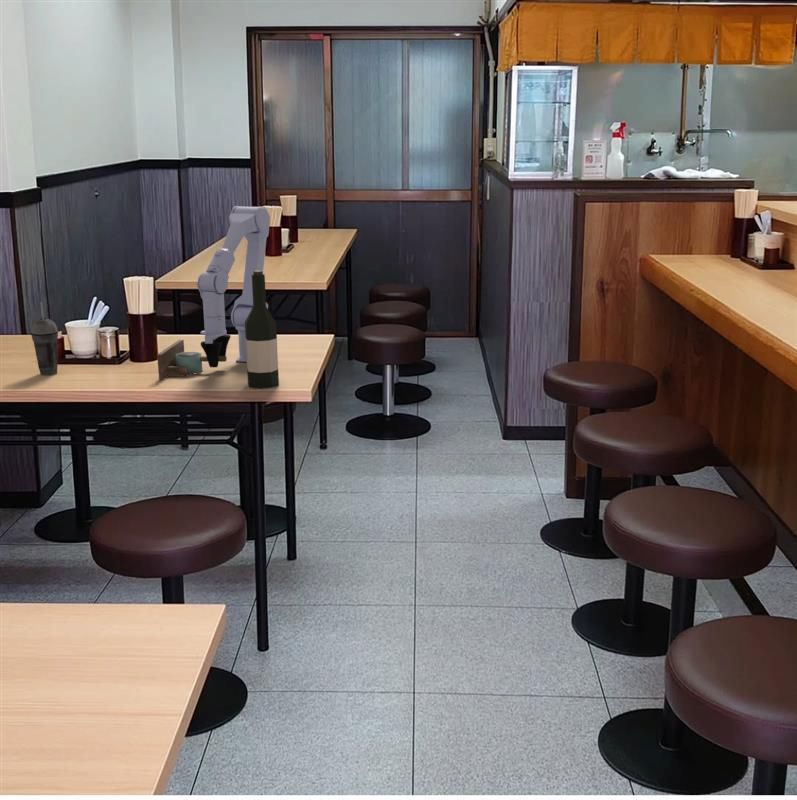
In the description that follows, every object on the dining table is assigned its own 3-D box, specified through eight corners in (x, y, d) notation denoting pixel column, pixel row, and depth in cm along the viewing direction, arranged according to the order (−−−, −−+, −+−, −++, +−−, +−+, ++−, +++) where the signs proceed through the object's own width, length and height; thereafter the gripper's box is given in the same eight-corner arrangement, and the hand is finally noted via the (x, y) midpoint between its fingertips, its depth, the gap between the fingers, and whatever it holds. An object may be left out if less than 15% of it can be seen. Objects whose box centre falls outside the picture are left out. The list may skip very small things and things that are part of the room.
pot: (173, 374, 278) (172, 356, 277) (181, 368, 285) (179, 351, 284) (223, 375, 277) (222, 357, 276) (229, 369, 284) (228, 351, 283)
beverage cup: (35, 377, 276) (27, 305, 271) (34, 372, 283) (26, 301, 278) (63, 375, 279) (56, 303, 274) (61, 369, 286) (54, 299, 280)
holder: (203, 363, 291) (201, 339, 289) (182, 380, 272) (180, 354, 270) (181, 363, 292) (179, 339, 290) (159, 379, 272) (157, 354, 270)
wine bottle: (251, 380, 270) (246, 268, 263) (282, 381, 269) (277, 268, 262) (243, 388, 262) (237, 273, 255) (275, 388, 261) (270, 273, 254)
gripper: (207, 311, 284) (210, 358, 287) (192, 320, 270) (195, 369, 273) (231, 311, 283) (234, 358, 287) (218, 320, 269) (221, 370, 273)
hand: (217, 364), depth 280 cm, fingers open, 7 cm apart
